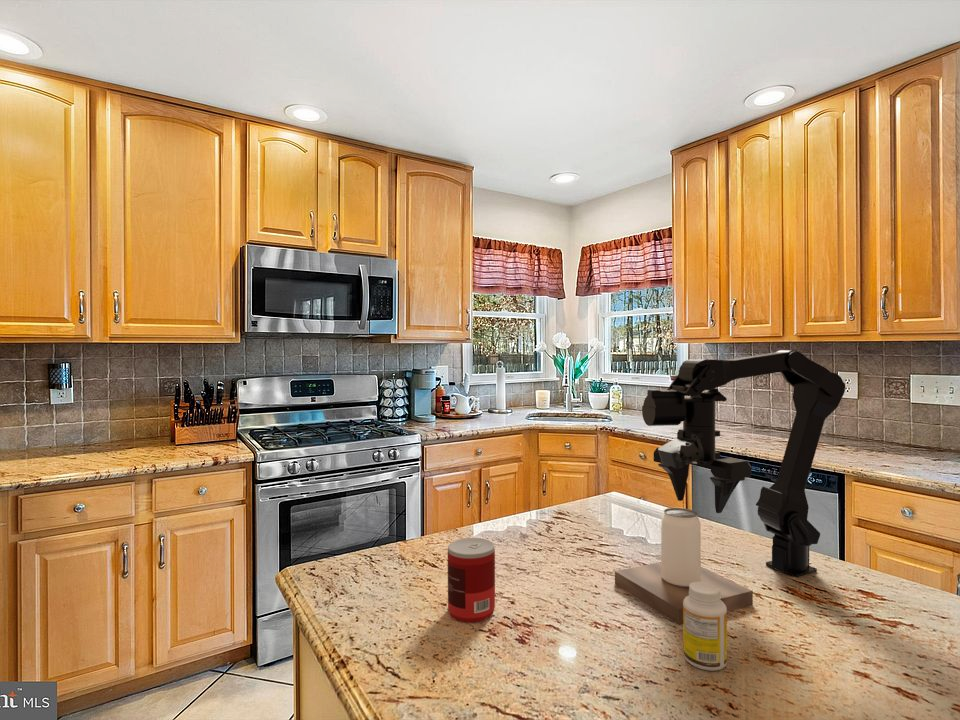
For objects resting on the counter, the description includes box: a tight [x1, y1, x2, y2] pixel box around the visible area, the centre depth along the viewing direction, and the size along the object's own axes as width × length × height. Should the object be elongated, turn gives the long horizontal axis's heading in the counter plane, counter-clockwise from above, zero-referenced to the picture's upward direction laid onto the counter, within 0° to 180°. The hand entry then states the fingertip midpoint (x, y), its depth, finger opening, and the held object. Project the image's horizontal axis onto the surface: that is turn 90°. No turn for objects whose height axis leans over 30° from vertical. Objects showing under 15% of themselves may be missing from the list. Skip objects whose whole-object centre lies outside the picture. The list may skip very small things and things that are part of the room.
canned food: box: [447, 537, 496, 624], centre depth 89 cm, size 8×8×11 cm
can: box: [660, 507, 702, 587], centre depth 95 cm, size 6×6×12 cm
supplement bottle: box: [682, 582, 728, 672], centre depth 74 cm, size 6×6×10 cm
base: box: [614, 561, 754, 626], centre depth 95 cm, size 16×16×2 cm
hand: (698, 506), depth 103 cm, fingers open, 9 cm apart
